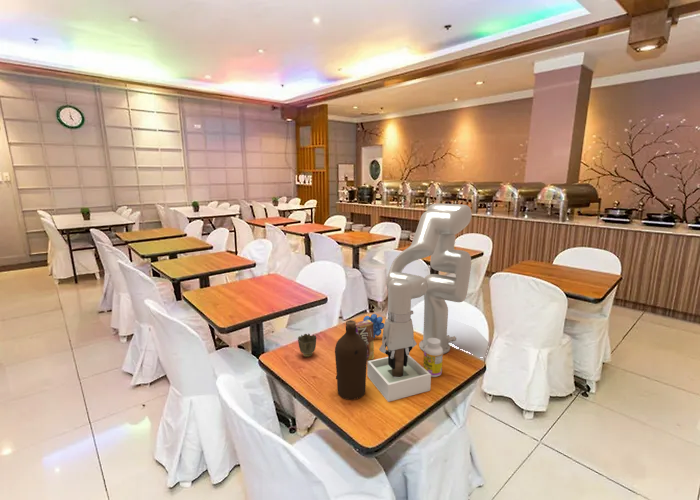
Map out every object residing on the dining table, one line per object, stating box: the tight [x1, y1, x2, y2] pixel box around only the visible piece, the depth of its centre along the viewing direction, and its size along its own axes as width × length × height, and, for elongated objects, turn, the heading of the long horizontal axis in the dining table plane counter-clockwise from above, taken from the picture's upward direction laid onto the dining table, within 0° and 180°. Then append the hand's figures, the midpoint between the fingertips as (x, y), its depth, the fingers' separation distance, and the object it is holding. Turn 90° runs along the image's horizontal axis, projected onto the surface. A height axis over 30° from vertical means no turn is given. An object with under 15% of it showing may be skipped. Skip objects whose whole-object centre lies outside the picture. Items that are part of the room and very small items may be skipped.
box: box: [366, 354, 432, 403], centre depth 124 cm, size 16×16×6 cm
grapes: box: [362, 313, 385, 339], centre depth 158 cm, size 12×7×12 cm, turn 93°
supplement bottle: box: [422, 338, 444, 378], centre depth 130 cm, size 7×7×13 cm
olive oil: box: [334, 319, 367, 401], centre depth 118 cm, size 11×11×25 cm
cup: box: [297, 333, 317, 358], centre depth 144 cm, size 8×7×8 cm
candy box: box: [355, 320, 375, 361], centre depth 140 cm, size 9×4×15 cm, turn 116°
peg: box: [392, 348, 404, 377], centre depth 123 cm, size 4×4×12 cm
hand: (397, 365), depth 123 cm, fingers closed on peg, 4 cm apart
